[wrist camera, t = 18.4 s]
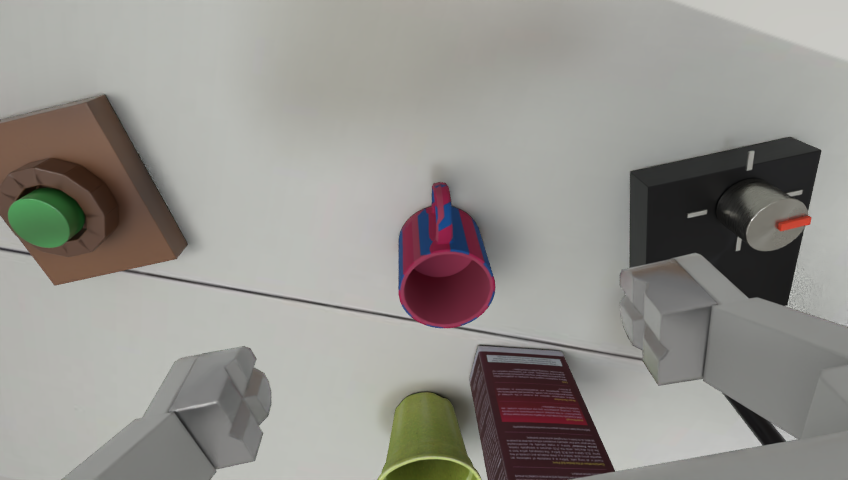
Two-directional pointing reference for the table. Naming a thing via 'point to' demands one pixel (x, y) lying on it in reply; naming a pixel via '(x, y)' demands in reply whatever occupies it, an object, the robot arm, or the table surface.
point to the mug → (443, 265)
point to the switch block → (87, 189)
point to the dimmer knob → (762, 214)
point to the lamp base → (697, 220)
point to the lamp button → (46, 217)
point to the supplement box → (533, 417)
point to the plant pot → (427, 442)
